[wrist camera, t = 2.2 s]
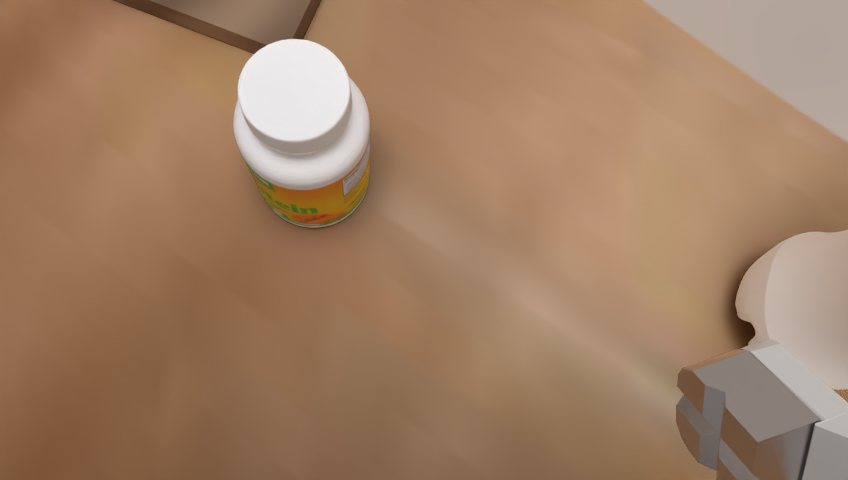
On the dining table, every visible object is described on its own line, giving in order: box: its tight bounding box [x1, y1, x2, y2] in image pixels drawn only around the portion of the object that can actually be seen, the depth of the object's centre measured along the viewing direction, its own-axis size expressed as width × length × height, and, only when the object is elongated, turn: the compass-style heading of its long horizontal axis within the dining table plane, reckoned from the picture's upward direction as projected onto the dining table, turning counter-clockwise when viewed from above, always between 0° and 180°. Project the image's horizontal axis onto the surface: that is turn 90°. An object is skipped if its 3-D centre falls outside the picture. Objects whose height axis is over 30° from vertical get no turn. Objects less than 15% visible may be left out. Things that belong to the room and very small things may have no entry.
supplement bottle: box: [233, 39, 370, 228], centre depth 28 cm, size 5×5×10 cm
